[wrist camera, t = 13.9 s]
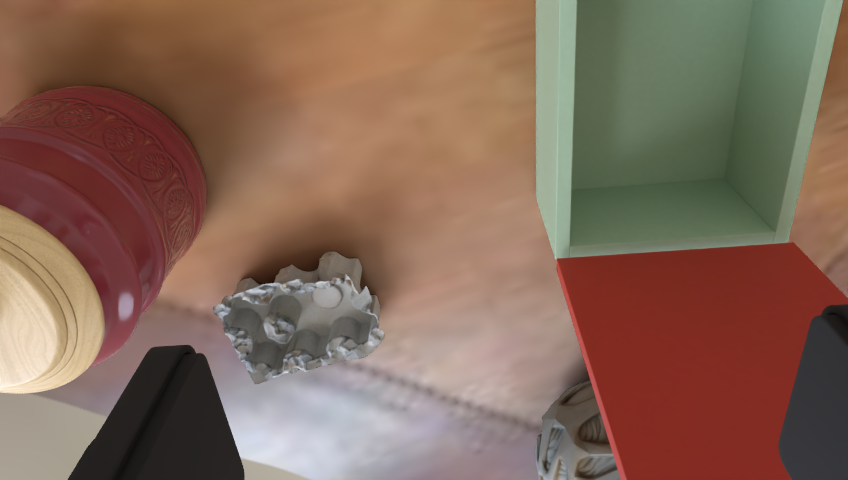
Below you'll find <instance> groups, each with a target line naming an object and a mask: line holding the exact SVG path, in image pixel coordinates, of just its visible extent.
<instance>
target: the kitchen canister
mask: <svg viewBox="0 0 848 480" xmlns="http://www.w3.org/2000/svg"><path fill="white" fill-rule="evenodd" d="M206 203H207V185H206V179H205V174H204V171H203V168H202V165H201V162H200V160H199V158H198V156H197V154H196V152H195V150H194V148H193V147H192V145H191V143H190V142H189V140H188V139H187V138H186V136H185V135H184V134H183V133H182V131H181V130H180V129H179V128H178V127H177V126H176V125H175V124H174V123H173V122H172V121H171V120H170V119H169V118H168V117H166V116H165V115H164V114H163V113H161V112H160V111H159V110H157V109H156V108H154V107H153V106H151V105H150V104H148V103H146V102H145V101H143V100H141V99H139V98H137V97H135V96H132V95H130V94H127V93H125V92H122V91H119V90H115V89H111V88H106V87H100V86H86V85H85V86H72V87H65V88H58V89H53V90H49V91H45V92H42V93H40V94H37V95H35V96H33V97H31V98H29V99H27V100H25V101H23V102H21V103H20V104H18V105H17V106H15V107H14V108H13V109H11V110H10V111H9V112H8V113H7V114H6V115H5V116H4V117H2V118H0V392H3V393H34V392H40V391H46V390H50V389H53V388H57V387H59V386H62V385H64V384H66V383H68V382H70V381H72V380H74V379H75V378H77V377H78V376H79V375H81V374H82V373H83V372H84V371H85V370H86V369H87V368H90V367H93V366H95V365H98V364H100V363H102V362H103V361H105V360H107V359H108V358H110V357H112V356H113V355H114V354H116V353H117V352H118V351H119V350H120V349H121V348H122V347H123V346H124V345H125V344H126V343H127V342H128V340H129V339H130V338H131V336H132V334H133V333H134V331H135V329H136V327H137V324H138V322H139V319H140V316H141V315H142V314H143V313H145V312H146V311H147V310H148V308H149V307H150V306H151V305H152V303H153V302H154V301H155V299H156V297H157V296H158V294H159V292H160V289H161V287H162V284H163V282H164V280H165V279H166V277H167V276H168V274H169V273H170V271H171V270H172V268H173V267H174V265H175V264H176V262H177V261H179V260H180V259H181V258H182V257H183V256H184V255H185V253H186V252H187V251H188V250H189V248H190V247H191V245H192V244H193V242H194V241H195V239H196V237H197V235H198V233H199V231H200V229H201V226H202V223H203V219H204V213H205V209H206Z"/></svg>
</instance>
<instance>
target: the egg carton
mask: <svg viewBox="0 0 848 480" xmlns="http://www.w3.org/2000/svg"><path fill="white" fill-rule="evenodd" d="M319 261H320V263H319V267H318V269H316V270H314V271H311V272H306V271H301V270H300V269H298V268H296V267H295V266H293V265H292V264H291V265H290V266H288V267H286V268H283V269H280V271H279V274H278V275H277V276H276V278H275V281H274V283H270V284H263V285H261V284H258V283H256V282H255V281H254V280H253V279H252V278H248V279H243V280H241V281H240V282H239V283H238V285H237V290H236V292H235V293H234V294H233V295H232V297H229V296H226V297H224V298H223V300H222V302H221V304H219V305H217V306H216V307H215V306H214V307H213V312H214V314H215V315H219V317H220V319H221V320H222V323H223V326H224V332H225V335H227V336H229V338H230V339H231V342H232V345H233V348H234V349H235V350H236V351H237V354H238V356H239V358H240V361H243V362H245V364H246V366H247V370H248V372H249V374H250V376H251V378H252V380H253V381H254V383H255V384H259V383H262V382H264V381H267V380H270V379H273V378H276V377H279V376H281V375H282V374H284V373H287V372H290V373H295V372H296V371H297V370H303V371H305V372H308V371H310V370H312V369H314V368H317V367H320V366H325V365H330V364H333V363H335V362H338V361H344V360H354V359H361V358H364V357H366V356H368V355H369V354H370V353H372V352H373V351H374V349H375V348H376V347H377V346H378V345H379V344H380V343H381V341H382V340H383V339H384V333H383V331H382V330H381V329H379V328H378V326H379V317H380V309H381V307H380V304H379V301H378V297H377V296H376V295H370V293H369V290H368V288H367V286H365V287H364V288H363V289H361V288H360V279H361V275H362V266H361V264H360V261H359V260H358V259H357V258H352V259H348V258H345V257H343V256H341V255H340V254H339V253H338V252H327V253H325V254H323V255H322V258H321V259H319Z"/></svg>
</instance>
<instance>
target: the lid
mask: <svg viewBox="0 0 848 480" xmlns="http://www.w3.org/2000/svg"><path fill="white" fill-rule="evenodd" d="M557 273H558V276H559V279H560V282H561V286H562V289H563V292H564V296H565V299H566V302H567V305H568V309H569V312H570V315H571V318H572V322H573V325H574V328H575V331H576V335H577V338H578V341H579V345H580V348H581V351H582V354H583V358H584V361H585V364H586V367H587V371H588V374H589V377H590V380H591V384H592V387H593V390H594V393H595V397H596V400H597V403H598V407H599V410H600V413H601V416H602V420H603V423H604V426H605V429H606V433H607V436H608V439H609V442H610V446H611V449H612V452H613V456H614V459H615V462H616V465H617V469H618V472H619V475H620V478H621V480H792V479H791V477H790V476H789V474H788V472H787V471H786V469H785V467H784V465H783V463H782V461H781V458H780V454H779V447H778V443H779V438H780V434H781V430H782V427H783V423H784V419H785V415H786V412H787V408H788V404H789V401H790V397H791V393H792V389H793V386H794V382H795V378H796V375H797V371H798V367H799V363H800V360H801V356H802V352H803V349H804V345H805V341H806V337H807V334H808V330H809V326H810V323H811V321H812V319H813V318H814V317H815V316H820V315H821V314H822V311H823V310H824V309H825V308H826V307H827V306H830V305H841V304H848V298H847V297H846V296H845V295H844V294H843V293H842V292H841V291H840V290H839V289H838V288H837V287H836V286H835V285H834V284H833V283H832V282H831V281H830V280H829V279H828V278H827V277H826V276H825V275H824V274H823V273H822V271H821V270H820V269H819V268H818V267H817V266H816V265H815V264H814V263H813V262H812V261H811V260H810V259H809V258H808V257H807V256H806V255H805V254H804V253H803V252H802V251H801V250H800V249H799V248H798V247H797V246H796V245H795V244H794V243H793V242H792V243H777V244H762V245H747V246H733V247H718V248H703V249H688V250H673V251H659V252H644V253H629V254H614V255H600V256H585V257H570V258H557Z"/></svg>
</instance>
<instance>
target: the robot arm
mask: <svg viewBox="0 0 848 480" xmlns="http://www.w3.org/2000/svg"><path fill="white" fill-rule="evenodd" d="M778 447H779V454H780V458H781V461H782V463H783V465H784V467H785V469H786V471H787V472H788V474H789V476H790V477H791V479H792V480H848V304H841V305H830V306H827V307H826V308H825V309H824V310H823V311H822V314H821V315H820V316H815V317H814V318H813V319H812V321H811V323H810V326H809V330H808V334H807V337H806V341H805V345H804V349H803V352H802V356H801V360H800V363H799V367H798V371H797V375H796V378H795V382H794V386H793V389H792V393H791V397H790V401H789V404H788V408H787V412H786V415H785V419H784V423H783V427H782V430H781V434H780V438H779V443H778ZM68 480H244V469H243V465H242V462H241V459H240V456H239V453H238V450H237V447H236V444H235V441H234V438H233V435H232V432H231V429H230V426H229V424H228V421H227V418H226V415H225V412H224V409H223V406H222V403H221V400H220V397H219V394H218V391H217V388H216V385H215V382H214V379H213V376H212V373H211V370H210V367H209V364H208V362H207V359H206V357H205V356H204V355H203V354H201V353H197V354H196V352H195V350H194V349H193V348H192V347H191V346H190V345H178V346H162V347H153V348H151V349H150V350H149V351H148V352H147V354H146V355H145V357H144V359H143V360H142V362H141V363H140V365H139V367H138V368H137V370H136V372H135V373H134V375H133V377H132V378H131V380H130V382H129V383H128V385H127V387H126V388H125V390H124V392H123V393H122V395H121V396H120V398H119V400H118V401H117V403H116V405H115V406H114V408H113V410H112V411H111V413H110V415H109V416H108V418H107V420H106V421H105V423H104V425H103V426H102V428H101V429H100V431H99V433H98V434H97V436H96V438H95V439H94V440H93V441H92V442H91V444H90V445H89V446H88V447H87V449H86V450H85V452H84V454H83V455H82V457H81V459H80V460H79V462H78V463H77V465H76V467H75V469H74V470H73V472H72V474H71V475H70V477H69V478H68Z"/></svg>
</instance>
